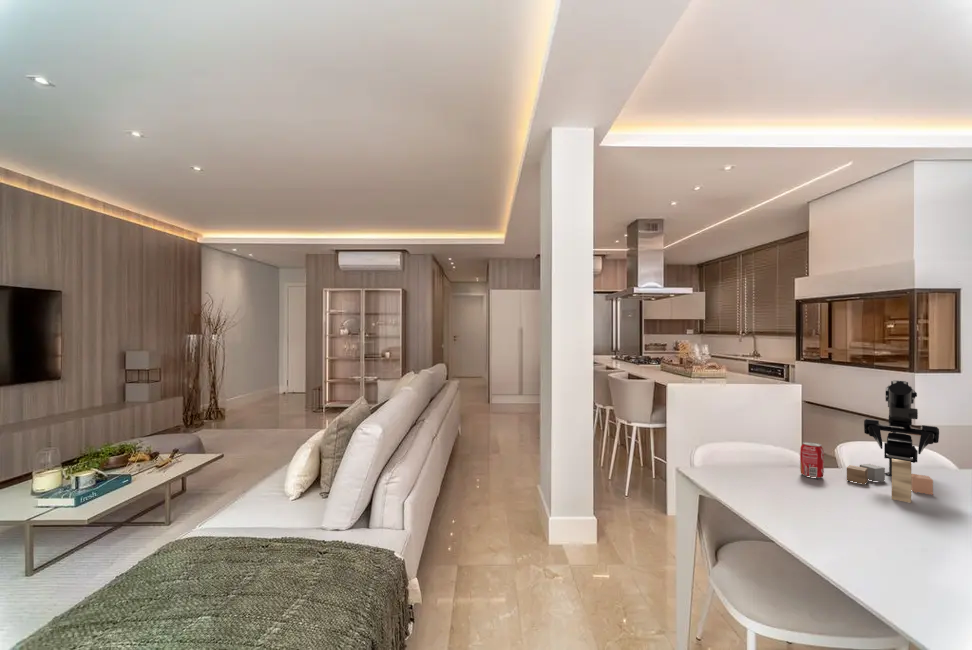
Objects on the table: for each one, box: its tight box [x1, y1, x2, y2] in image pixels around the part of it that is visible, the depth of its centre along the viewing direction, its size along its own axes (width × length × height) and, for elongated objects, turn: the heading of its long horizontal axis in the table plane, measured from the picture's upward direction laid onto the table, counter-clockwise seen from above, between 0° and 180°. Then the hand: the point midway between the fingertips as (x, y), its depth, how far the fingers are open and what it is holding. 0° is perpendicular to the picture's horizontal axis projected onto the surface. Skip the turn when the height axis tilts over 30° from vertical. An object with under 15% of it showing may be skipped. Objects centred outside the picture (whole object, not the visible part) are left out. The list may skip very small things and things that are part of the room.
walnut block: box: [846, 464, 869, 485], centre depth 159 cm, size 5×5×5 cm
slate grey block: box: [859, 463, 886, 481], centre depth 162 cm, size 5×5×5 cm
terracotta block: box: [911, 473, 934, 496], centre depth 151 cm, size 5×5×5 cm
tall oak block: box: [891, 459, 912, 504], centre depth 143 cm, size 4×4×12 cm
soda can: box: [799, 441, 825, 479], centre depth 164 cm, size 7×7×12 cm
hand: (900, 450), depth 149 cm, fingers open, 9 cm apart
